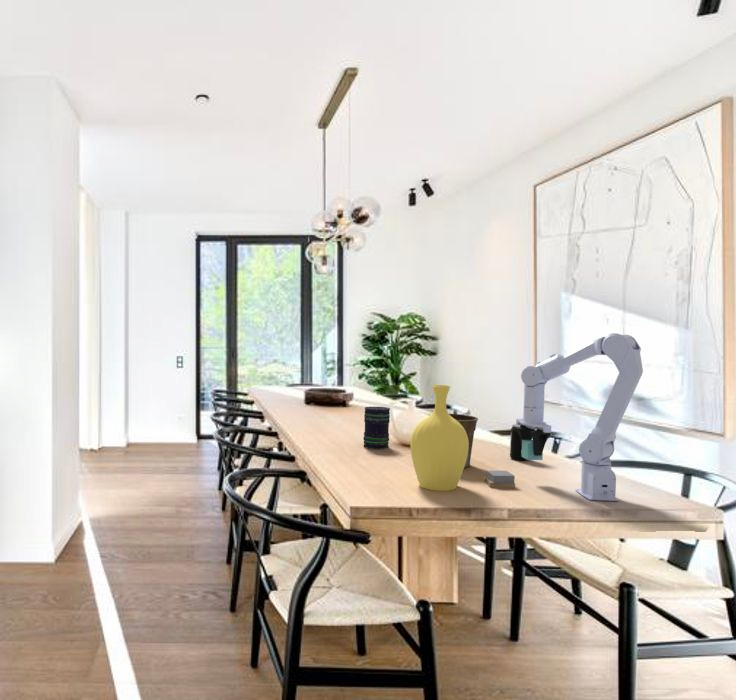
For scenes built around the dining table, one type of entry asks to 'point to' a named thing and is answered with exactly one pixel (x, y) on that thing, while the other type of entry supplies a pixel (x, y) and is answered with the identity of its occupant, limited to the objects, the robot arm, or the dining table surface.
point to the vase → (439, 447)
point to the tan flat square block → (499, 484)
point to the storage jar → (376, 427)
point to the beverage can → (515, 445)
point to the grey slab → (500, 476)
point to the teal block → (529, 451)
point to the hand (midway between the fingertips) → (532, 453)
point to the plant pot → (467, 430)
